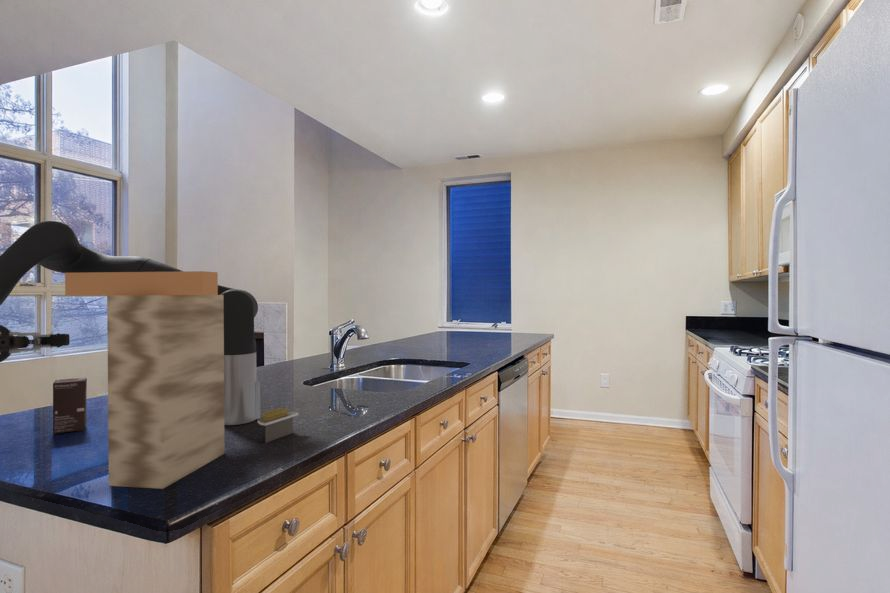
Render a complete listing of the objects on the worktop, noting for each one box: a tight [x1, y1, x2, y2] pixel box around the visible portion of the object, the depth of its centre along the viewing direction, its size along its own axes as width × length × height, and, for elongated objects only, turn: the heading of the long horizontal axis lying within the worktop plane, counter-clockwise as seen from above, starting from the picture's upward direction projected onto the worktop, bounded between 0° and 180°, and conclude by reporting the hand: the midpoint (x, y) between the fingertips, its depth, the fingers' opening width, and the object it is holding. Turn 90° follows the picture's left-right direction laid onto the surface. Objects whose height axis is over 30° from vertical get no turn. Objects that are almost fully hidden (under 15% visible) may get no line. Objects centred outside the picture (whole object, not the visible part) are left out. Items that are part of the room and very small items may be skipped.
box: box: [52, 377, 88, 435], centre depth 110 cm, size 6×4×12 cm
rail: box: [64, 270, 219, 297], centre depth 81 cm, size 26×4×4 cm, turn 83°
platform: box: [257, 407, 299, 443], centre depth 104 cm, size 12×18×7 cm, turn 154°
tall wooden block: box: [106, 295, 226, 490], centre depth 86 cm, size 10×17×32 cm, turn 173°
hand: (43, 340), depth 83 cm, fingers open, 8 cm apart
